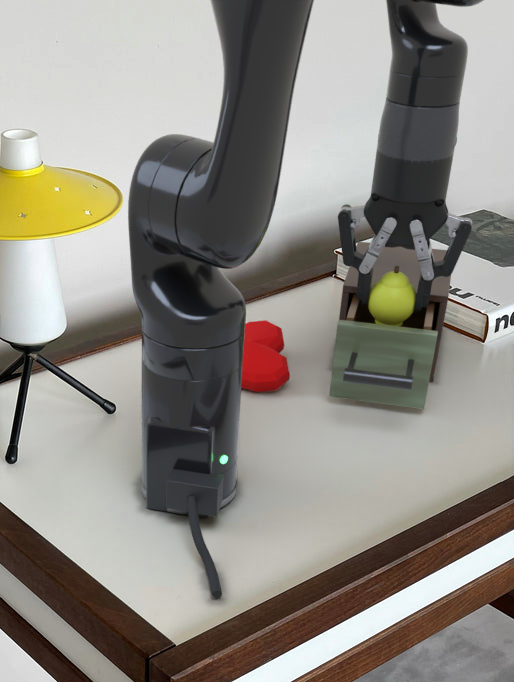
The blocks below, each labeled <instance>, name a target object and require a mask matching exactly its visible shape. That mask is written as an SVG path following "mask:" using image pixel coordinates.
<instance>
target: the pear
mask: <svg viewBox="0 0 514 682" xmlns="http://www.w3.org/2000/svg"><path fill="white" fill-rule="evenodd" d="M416 296H417V295H416V291H415V289H414V287H413V285H412V284H411V283H410V281H409V279H408V277H407V276H406V275H405V274H403V273H401V272H399V266H398V265H396V266H395V268H394V271H391V272H388V273H386V274H385V275H384V276H383V277H382V278H381V279H380V280H379V281H377V282H376V283H375V284H374V285H373V287H372V288H371V290H370V293H369V298H368V308H369V311H370V313H371V314H372V316H373V317H374V318H375V323H376V324H381V325H390V326H398V327H400V326H401V325H402V324H403V321H405V320H406V319H407V318H409V317H410V315H411V314H412V313H413V311H414V308H415V302H416Z"/></svg>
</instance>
